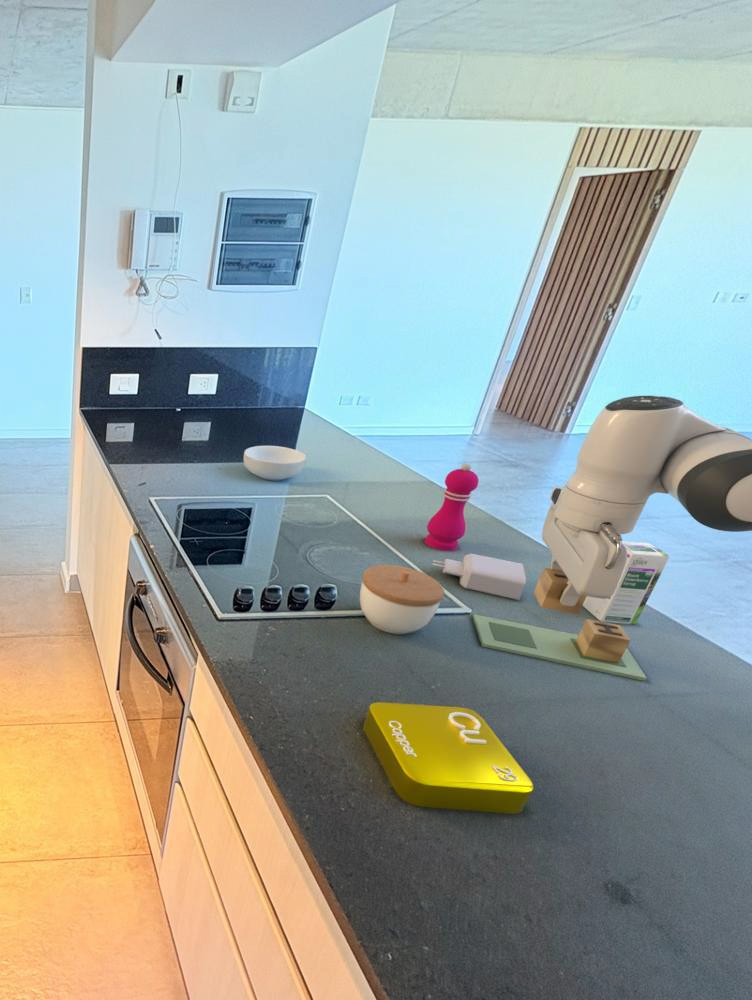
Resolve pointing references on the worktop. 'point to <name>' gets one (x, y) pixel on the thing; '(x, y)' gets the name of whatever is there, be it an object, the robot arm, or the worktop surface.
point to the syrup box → (631, 585)
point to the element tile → (445, 758)
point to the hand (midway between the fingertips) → (559, 593)
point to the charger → (488, 575)
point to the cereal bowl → (274, 462)
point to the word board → (548, 646)
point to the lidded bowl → (399, 598)
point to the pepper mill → (452, 510)
